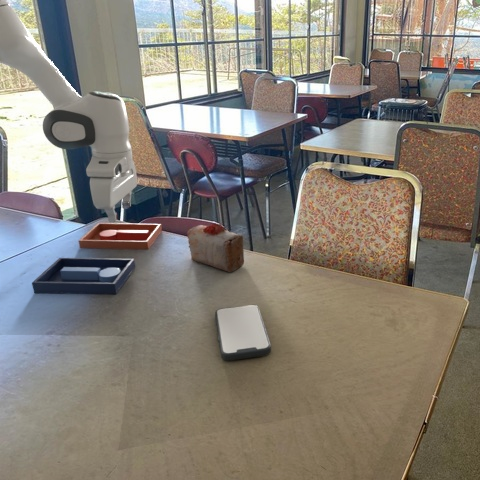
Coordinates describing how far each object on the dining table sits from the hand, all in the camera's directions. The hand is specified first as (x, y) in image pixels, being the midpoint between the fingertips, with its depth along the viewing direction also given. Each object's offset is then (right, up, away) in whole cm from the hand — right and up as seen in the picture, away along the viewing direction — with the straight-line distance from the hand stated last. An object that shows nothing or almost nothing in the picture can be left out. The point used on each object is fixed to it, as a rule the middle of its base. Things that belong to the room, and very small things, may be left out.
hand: (120, 214), depth 123 cm
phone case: (+36, -24, -33) cm, 55 cm away
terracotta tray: (-1, -7, +5) cm, 8 cm away
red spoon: (-1, -6, +5) cm, 8 cm away
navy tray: (-1, -16, -15) cm, 22 cm away
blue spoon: (0, -15, -16) cm, 22 cm away
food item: (+26, -12, -5) cm, 29 cm away
